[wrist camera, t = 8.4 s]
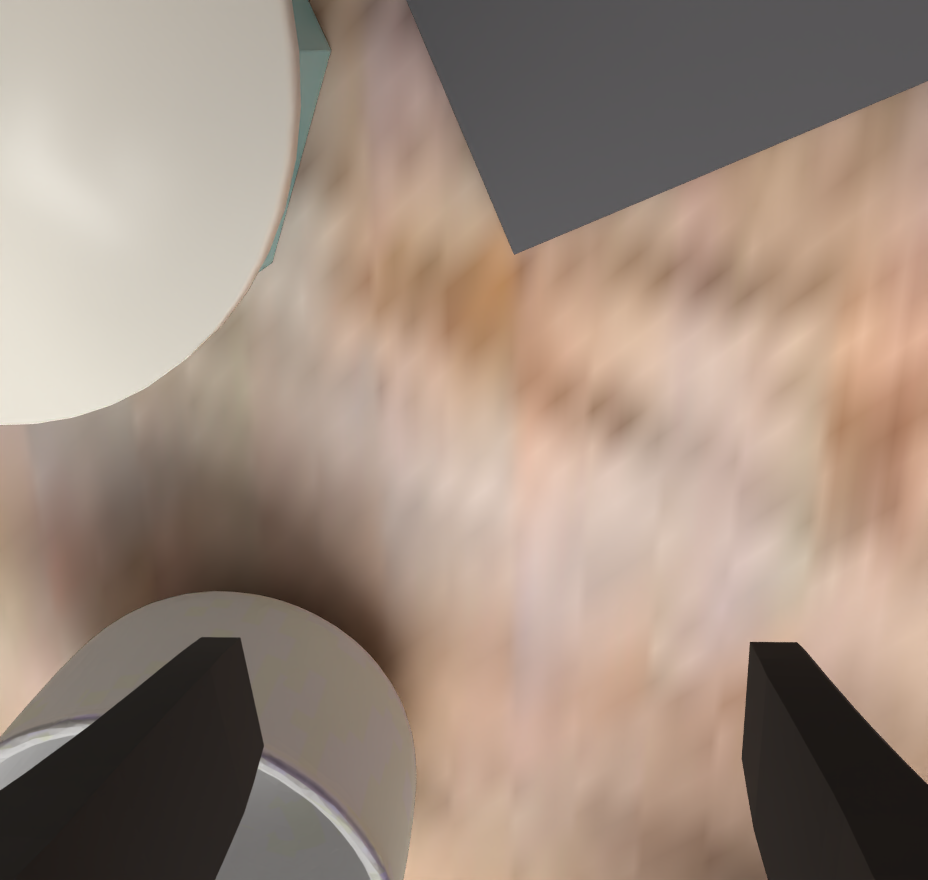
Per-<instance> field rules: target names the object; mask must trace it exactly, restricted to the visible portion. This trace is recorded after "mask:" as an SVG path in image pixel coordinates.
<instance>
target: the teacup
mask: <svg viewBox="0 0 928 880" xmlns="http://www.w3.org/2000/svg"><path fill="white" fill-rule="evenodd" d="M201 637H240V638H241V642H242V647H243V651H244V656H245V660H246V665H247V669H248V674H249V679H250V683H251V688H252V692H253V697H254V701H255V706H256V711H257V715H258V720H259V724H260V729H261V733H262V738H263V742H264V748H263V752H262V755H261V759H260V762H259V766H258V769H257V773H256V777H255V780H254V784H253V787H252V790H251V793H250V796H249V800H248V803H247V806H246V809H245V812H244V815H243V817H242V819H241V822H240V824H239V827H238V829H237V831H236V833H235V836H234V838H233V840H232V843H231V845H230V847H229V850H228V852H227V854H226V856H225V859H224V861H223V863H222V866H221V868H220V870H219V872H218V875H217V877H216V879H215V880H403V879H404V874H405V868H406V862H407V857H408V850H409V844H410V837H411V830H412V823H413V814H414V804H415V795H416V758H415V747H414V742H413V736H412V731H411V728H410V725H409V722H408V719H407V716H406V713H405V710H404V707H403V705H402V702H401V700H400V698H399V696H398V694H397V692H396V691H395V689H394V687H393V685H392V683H391V682H390V680H389V679H388V678H387V676H386V675H385V673H384V672H383V671H382V669H381V668H380V667H379V665H378V664H377V663H376V662H375V660H374V659H373V658H372V657H371V656H370V655H369V654H368V652H367V651H365V650H364V649H363V648H362V647H361V646H360V645H359V644H358V643H357V642H356V641H355V640H354V639H352V638H351V637H350V636H348V635H347V634H346V633H344V632H343V631H342V630H340V629H339V628H338V627H336V626H335V625H333V624H331V623H329V622H328V621H326V620H324V619H323V618H321V617H319V616H317V615H316V614H314V613H311V612H309V611H307V610H305V609H303V608H300V607H298V606H295V605H292V604H290V603H287V602H284V601H281V600H278V599H274V598H270V597H266V596H262V595H256V594H248V593H240V592H225V591H209V592H198V593H189V594H183V595H179V596H175V597H171V598H167V599H164V600H160V601H157V602H154V603H151V604H148V605H146V606H144V607H142V608H139V609H137V610H135V611H133V612H131V613H129V614H127V615H125V616H123V617H122V618H120V619H119V620H117V621H115V622H114V623H112V624H111V625H109V626H108V627H106V628H105V629H103V630H102V631H101V632H100V633H99V634H97V635H96V636H95V637H94V638H92V639H91V640H90V641H89V642H88V643H87V644H85V645H84V646H83V647H82V648H81V649H80V650H79V651H78V652H77V653H76V654H75V655H74V656H73V657H72V658H71V659H70V660H69V661H68V662H67V663H66V664H65V665H64V666H63V667H62V668H61V669H60V670H59V671H58V672H57V673H56V674H55V675H54V676H53V678H52V679H51V680H50V681H49V682H48V683H47V684H46V685H45V686H44V688H43V689H42V690H41V691H40V692H39V693H38V694H37V695H36V696H35V697H34V699H33V700H32V701H31V702H30V703H29V704H28V705H27V706H26V708H25V709H24V710H23V711H22V712H21V713H20V714H19V715H18V717H17V718H16V719H15V720H14V721H13V723H12V724H11V725H10V726H9V727H8V728H7V730H6V731H5V732H4V733H3V734H2V736H1V737H0V790H1V789H3V788H4V787H6V786H7V785H9V784H10V783H11V782H13V781H14V780H16V779H17V778H19V777H20V776H22V775H23V774H24V773H26V772H27V771H29V770H30V769H31V768H33V767H34V766H35V765H37V764H38V763H39V762H41V761H42V760H43V759H45V758H46V757H48V756H49V755H50V754H52V753H53V752H54V751H56V750H57V749H58V748H60V747H61V746H62V745H64V744H65V743H67V742H68V741H69V740H71V739H72V738H73V737H75V736H76V735H77V734H79V733H80V732H82V731H83V730H84V729H86V728H87V727H88V726H89V725H91V724H92V723H93V722H95V721H96V720H97V719H98V718H100V717H101V716H102V715H103V714H105V713H106V712H107V711H108V710H110V709H111V708H112V707H113V706H115V705H116V704H117V703H118V702H120V701H121V700H122V699H123V698H125V697H126V696H127V695H128V694H130V693H131V692H132V691H133V690H135V689H136V688H137V687H138V686H140V685H141V684H142V683H143V682H145V681H146V680H147V679H148V678H149V677H151V676H152V675H153V674H154V673H156V672H157V671H158V670H159V669H161V668H162V667H163V666H164V665H165V664H167V663H168V662H169V661H170V660H172V659H173V658H174V657H175V656H177V655H178V654H179V653H180V652H182V651H183V650H184V649H186V648H187V647H188V646H190V645H191V644H192V643H194V642H195V641H196V640H198V639H199V638H201Z"/></svg>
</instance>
